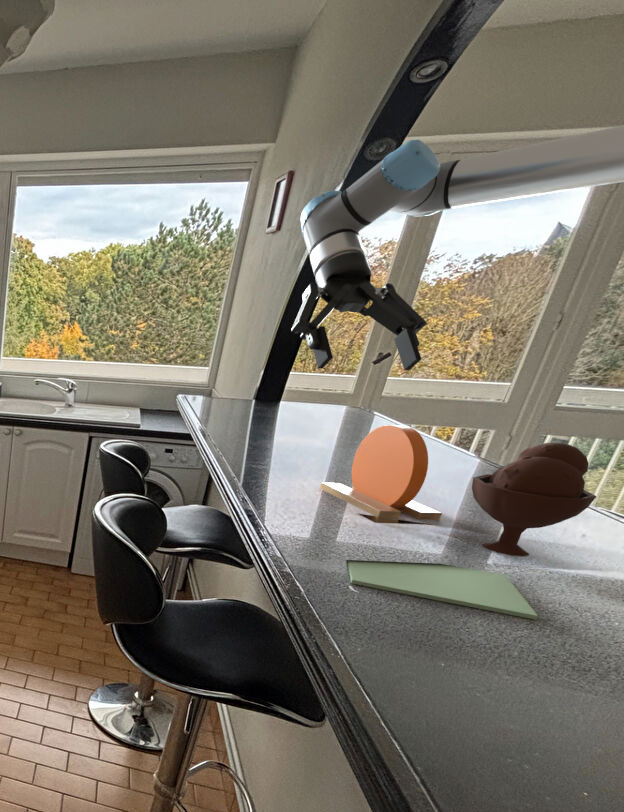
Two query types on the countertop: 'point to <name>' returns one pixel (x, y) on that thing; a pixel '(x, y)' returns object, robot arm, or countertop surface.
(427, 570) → the sage mat
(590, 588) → the countertop surface
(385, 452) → the orange disc
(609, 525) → the countertop surface
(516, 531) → the ice cream bowl
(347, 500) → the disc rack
